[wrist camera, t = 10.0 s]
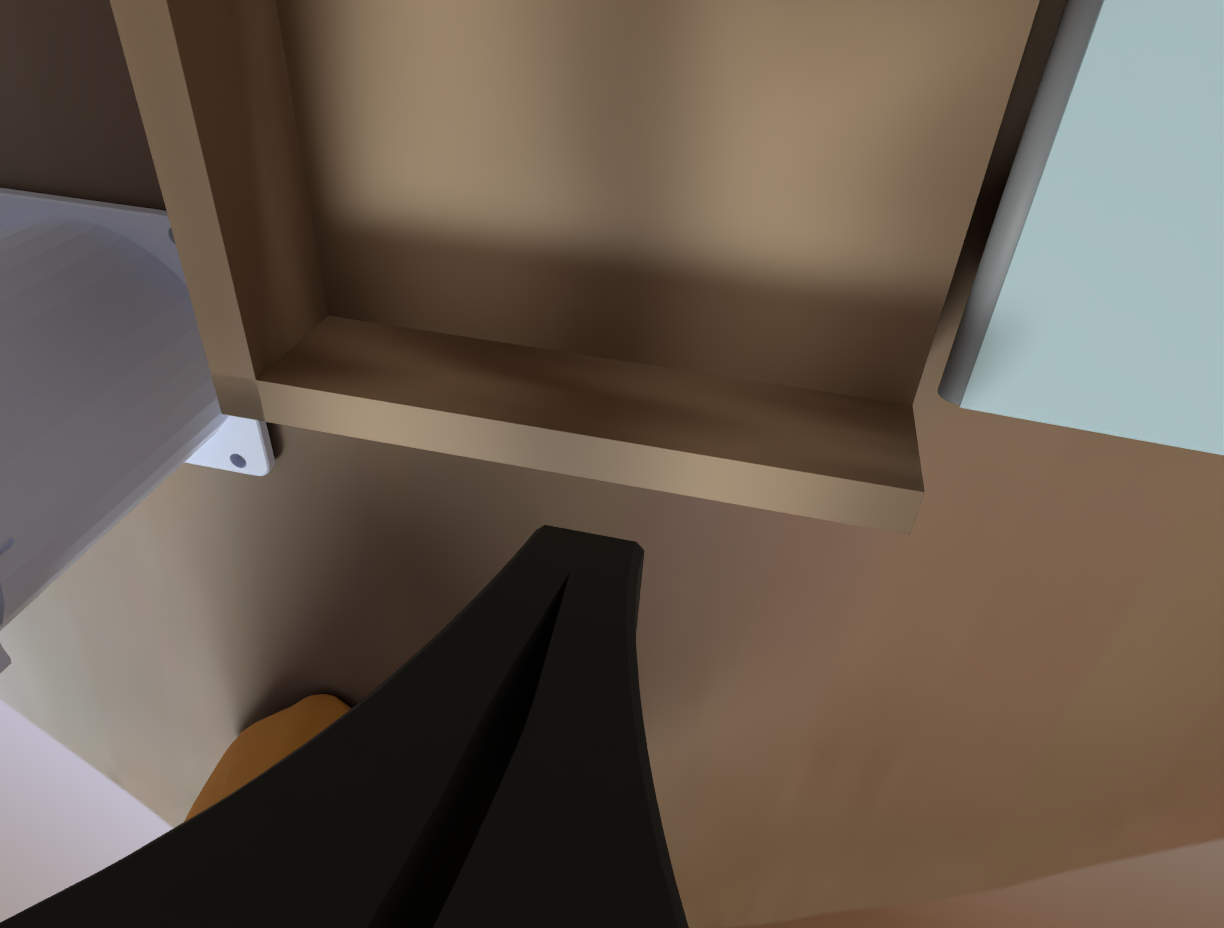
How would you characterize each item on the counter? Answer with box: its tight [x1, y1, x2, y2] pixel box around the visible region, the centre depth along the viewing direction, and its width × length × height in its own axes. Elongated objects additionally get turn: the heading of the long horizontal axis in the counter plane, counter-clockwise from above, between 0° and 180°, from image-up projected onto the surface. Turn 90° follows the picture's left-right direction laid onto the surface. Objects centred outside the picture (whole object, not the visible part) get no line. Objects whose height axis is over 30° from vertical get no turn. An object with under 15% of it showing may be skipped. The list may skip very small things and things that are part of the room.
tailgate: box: [938, 0, 1224, 455], centre depth 14 cm, size 1×9×6 cm
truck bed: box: [110, 0, 1040, 535], centre depth 15 cm, size 14×12×6 cm
